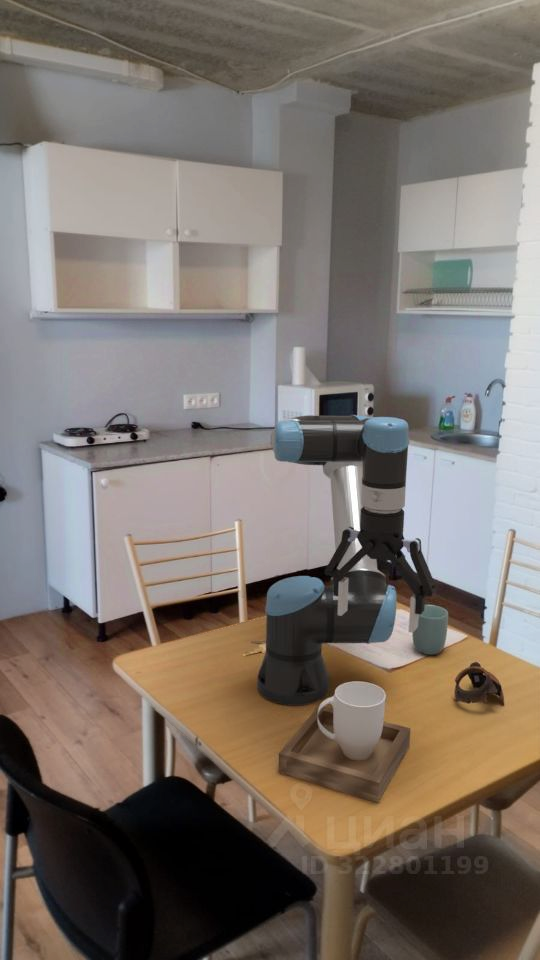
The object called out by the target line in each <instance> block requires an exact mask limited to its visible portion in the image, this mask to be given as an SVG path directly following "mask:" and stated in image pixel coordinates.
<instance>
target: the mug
mask: <svg viewBox="0 0 540 960" xmlns="http://www.w3.org/2000/svg"><path fill="white" fill-rule="evenodd" d="M386 694H387V693H386V691H384V689H383V688H382V687H380V686H379V685H376V684H374V683H371V682H366V681H360V680H359V681H349V682H343V683H341V684H339V685H338V686H337V687H336V688H335V690H334V694H333V696H330V697H327V698H326V699H324V700H322V701H321V703H320V704H319V705H320V706H319V708H318V713H319V711H320V710H321V708H323V707H324V706H326V707H327V705H331V706H332V708H333V727H334V734H332V733H330V732H329V731H327V730H326V729H325V728H324V727H323V726H322V725H321V723H320V721H319V719H318V716H317V722H318V726H319V728H320V730H321V731H322V733H323V734H324V735H326V736H327V737H328V738H330V739H333V740H335V741H337V742H338V743H339V745H340V747H341V749H342V751H343V753H344V755H345V756H346V757H347V758H349V759H352V760H357V761H362V760H366V759H368V758H370V757H371V755H372V753H373V751H374V749H375V747H376V745H377V743H378V741H379V739H380V737H381V734H382V729H383V721H384V720H385V712H386V711H385V710H386V699H387V698H386V697H387V695H386ZM384 722H385V721H384Z"/></svg>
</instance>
